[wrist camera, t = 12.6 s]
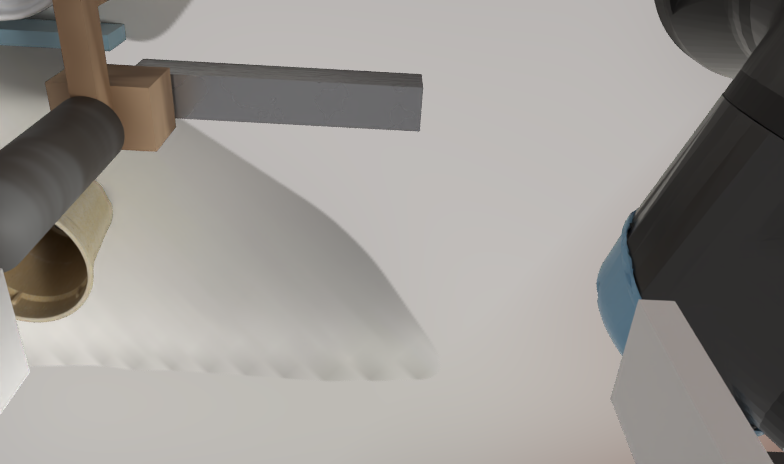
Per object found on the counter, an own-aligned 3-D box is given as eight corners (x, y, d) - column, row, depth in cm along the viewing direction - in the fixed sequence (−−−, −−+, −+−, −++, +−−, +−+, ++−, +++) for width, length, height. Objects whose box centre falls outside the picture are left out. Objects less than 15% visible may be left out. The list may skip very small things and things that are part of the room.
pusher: (160, -158, 40) (-40, -160, 22) (187, 112, 48) (58, 277, 30) (56, -165, 40) (-234, -172, 21) (101, 107, 48) (-83, 270, 30)
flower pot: (140, 262, 55) (99, 328, 47) (20, 252, 54) (-40, 317, 47) (129, 153, 50) (82, 208, 43) (-2, 142, 50) (-73, 195, 42)
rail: (421, 74, 47) (422, 87, 44) (418, 115, 48) (419, 131, 46) (143, 58, 47) (128, 71, 44) (148, 101, 48) (134, 116, 45)
